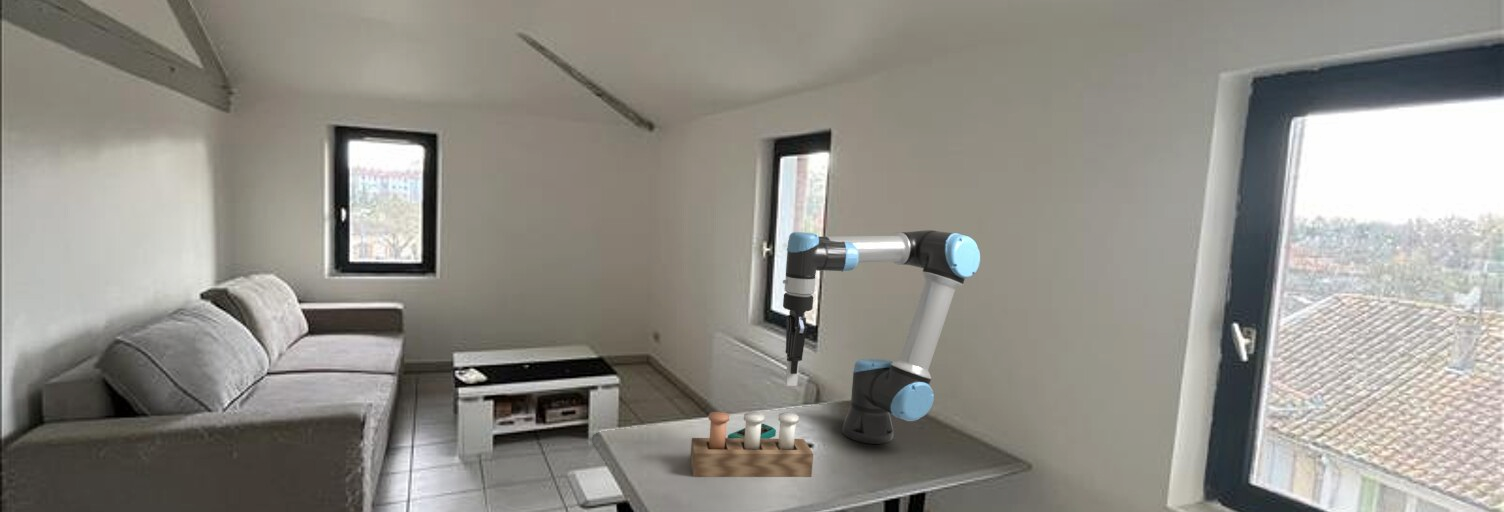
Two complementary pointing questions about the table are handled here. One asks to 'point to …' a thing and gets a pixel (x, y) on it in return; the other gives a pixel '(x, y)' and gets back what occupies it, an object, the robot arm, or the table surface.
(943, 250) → the robot arm
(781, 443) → the plug near
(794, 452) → the board
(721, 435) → the plug terracotta
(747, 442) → the plug mid
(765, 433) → the digital multimeter
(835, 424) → the table surface
